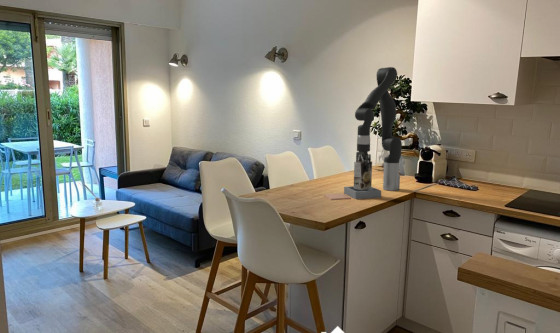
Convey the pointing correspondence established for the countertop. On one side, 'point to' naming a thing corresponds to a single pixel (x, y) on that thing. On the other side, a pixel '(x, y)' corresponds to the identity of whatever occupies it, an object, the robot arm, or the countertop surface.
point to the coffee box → (362, 176)
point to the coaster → (337, 196)
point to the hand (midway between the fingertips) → (362, 170)
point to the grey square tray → (362, 193)
